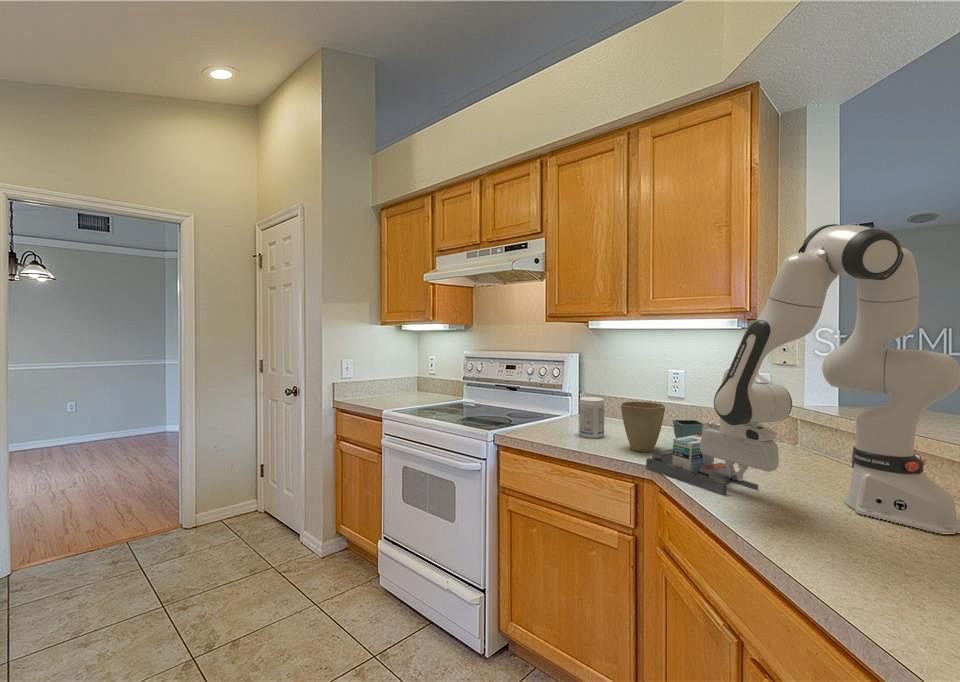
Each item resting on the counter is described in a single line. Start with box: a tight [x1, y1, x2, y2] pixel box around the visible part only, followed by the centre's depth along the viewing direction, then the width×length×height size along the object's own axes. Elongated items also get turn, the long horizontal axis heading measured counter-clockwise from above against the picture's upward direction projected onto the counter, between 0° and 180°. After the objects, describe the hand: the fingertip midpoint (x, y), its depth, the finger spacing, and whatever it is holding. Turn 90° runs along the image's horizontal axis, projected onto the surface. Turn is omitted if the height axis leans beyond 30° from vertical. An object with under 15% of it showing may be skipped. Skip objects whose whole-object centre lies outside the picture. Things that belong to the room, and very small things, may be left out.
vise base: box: [645, 448, 759, 496], centre depth 144 cm, size 28×13×5 cm, turn 29°
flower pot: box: [672, 419, 705, 438], centre depth 179 cm, size 9×9×9 cm
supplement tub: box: [578, 396, 605, 439], centre depth 195 cm, size 10×10×15 cm
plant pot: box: [620, 400, 666, 453], centre depth 175 cm, size 15×15×16 cm
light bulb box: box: [672, 435, 715, 474], centre depth 147 cm, size 11×7×11 cm, turn 120°
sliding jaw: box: [700, 462, 731, 483], centre depth 140 cm, size 3×9×4 cm, turn 119°
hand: (735, 479), depth 133 cm, fingers closed
